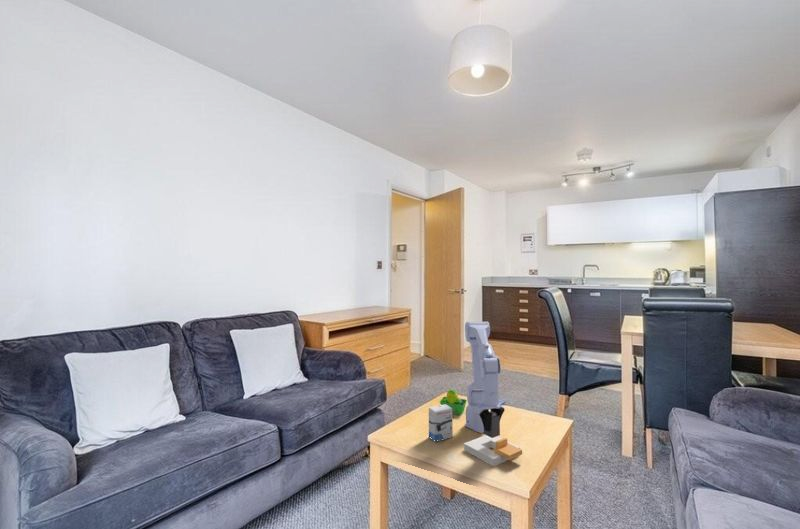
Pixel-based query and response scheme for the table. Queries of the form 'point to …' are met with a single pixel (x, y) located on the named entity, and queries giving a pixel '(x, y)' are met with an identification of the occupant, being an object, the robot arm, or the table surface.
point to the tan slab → (507, 449)
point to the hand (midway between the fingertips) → (491, 428)
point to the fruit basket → (454, 402)
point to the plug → (494, 426)
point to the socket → (485, 449)
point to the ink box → (440, 422)
